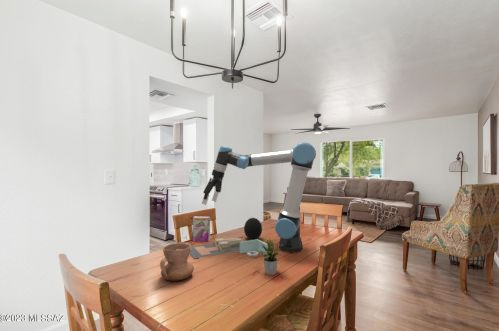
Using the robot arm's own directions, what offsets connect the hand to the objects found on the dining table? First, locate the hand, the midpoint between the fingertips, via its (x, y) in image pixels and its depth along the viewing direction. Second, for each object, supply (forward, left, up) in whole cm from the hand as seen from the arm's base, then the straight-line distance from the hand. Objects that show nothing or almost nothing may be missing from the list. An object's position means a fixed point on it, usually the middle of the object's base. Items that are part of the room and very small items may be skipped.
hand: (209, 202), depth 162 cm
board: (-5, -4, -28) cm, 29 cm away
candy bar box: (+15, +1, -28) cm, 32 cm away
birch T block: (-5, -11, -27) cm, 30 cm away
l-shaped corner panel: (-25, -18, -29) cm, 43 cm away
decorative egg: (+3, -32, -28) cm, 43 cm away
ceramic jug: (-35, +27, -28) cm, 52 cm away
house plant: (-48, -14, -28) cm, 58 cm away
